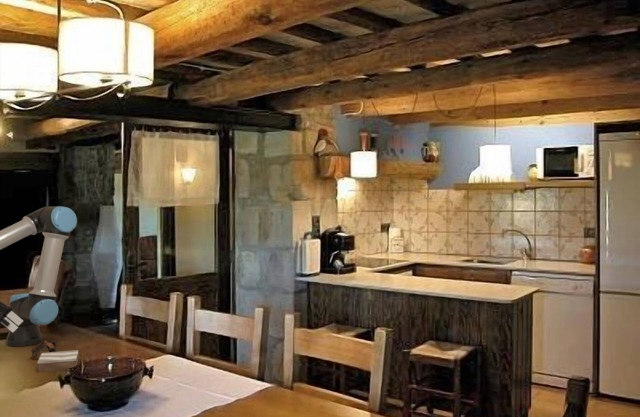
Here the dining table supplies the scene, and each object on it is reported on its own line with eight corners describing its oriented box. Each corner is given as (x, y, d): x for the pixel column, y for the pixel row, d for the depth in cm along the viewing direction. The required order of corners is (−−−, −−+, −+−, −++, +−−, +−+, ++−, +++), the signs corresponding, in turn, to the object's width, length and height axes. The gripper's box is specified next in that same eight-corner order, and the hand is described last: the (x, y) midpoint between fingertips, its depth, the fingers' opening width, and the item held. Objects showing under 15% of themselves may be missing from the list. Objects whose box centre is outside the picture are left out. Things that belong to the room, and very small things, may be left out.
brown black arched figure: (53, 362, 253) (42, 346, 251) (35, 371, 255) (24, 355, 253) (66, 347, 265) (56, 332, 263) (49, 356, 266) (38, 341, 265)
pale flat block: (42, 362, 251) (42, 352, 251) (78, 359, 255) (78, 350, 255) (37, 372, 237) (37, 361, 237) (76, 368, 242) (76, 358, 242)
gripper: (-23, 294, 262) (16, 327, 267) (-38, 304, 238) (5, 340, 243) (-9, 281, 263) (29, 314, 268) (-23, 290, 239) (20, 326, 244)
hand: (18, 326), depth 255 cm, fingers open, 13 cm apart
